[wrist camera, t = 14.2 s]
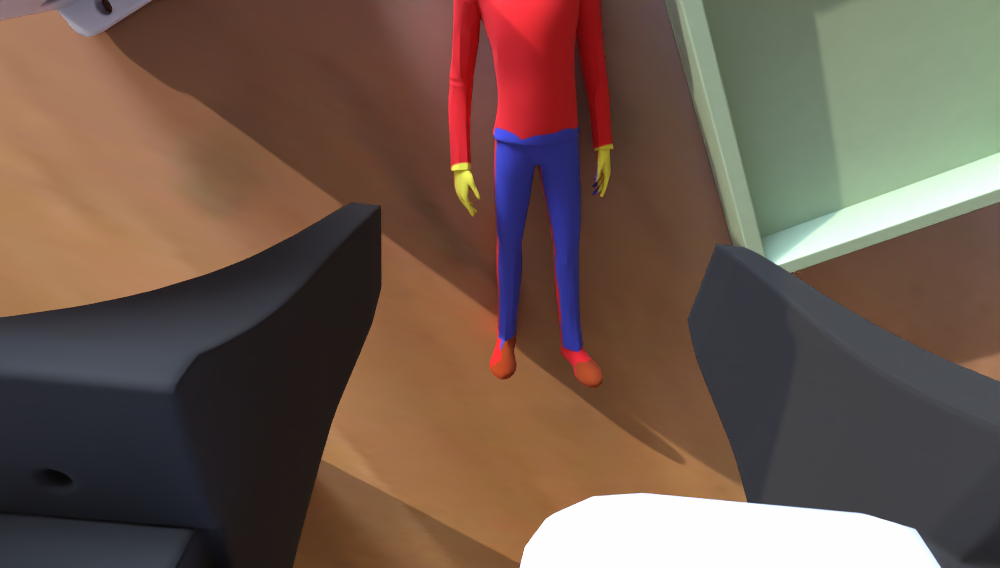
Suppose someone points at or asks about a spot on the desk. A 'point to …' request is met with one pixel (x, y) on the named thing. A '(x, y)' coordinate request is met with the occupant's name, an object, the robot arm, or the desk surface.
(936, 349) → the desk surface
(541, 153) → the character figure
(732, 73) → the tray
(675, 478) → the desk surface
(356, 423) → the desk surface
